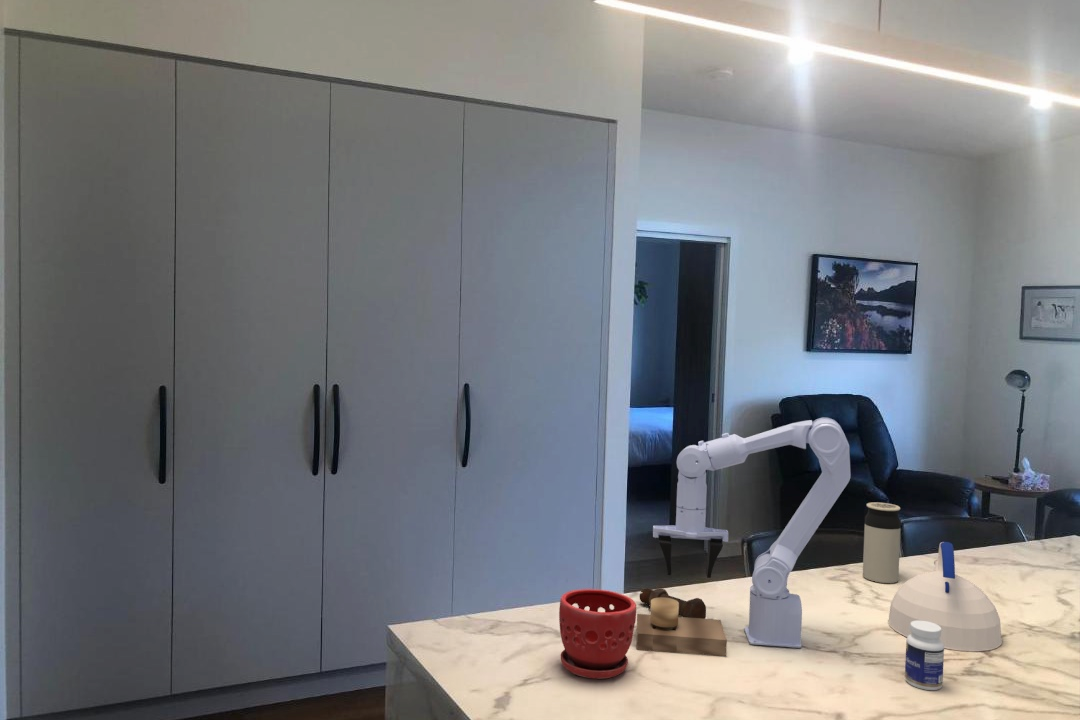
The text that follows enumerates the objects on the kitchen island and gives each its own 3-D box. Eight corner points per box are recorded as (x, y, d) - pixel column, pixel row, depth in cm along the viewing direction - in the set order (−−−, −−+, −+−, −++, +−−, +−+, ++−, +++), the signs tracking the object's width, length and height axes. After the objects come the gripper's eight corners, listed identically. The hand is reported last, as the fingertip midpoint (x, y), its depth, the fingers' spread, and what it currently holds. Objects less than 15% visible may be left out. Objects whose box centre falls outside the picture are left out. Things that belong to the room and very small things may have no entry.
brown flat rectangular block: (720, 635, 148) (720, 619, 148) (726, 656, 138) (726, 639, 138) (636, 629, 150) (637, 613, 150) (636, 649, 140) (637, 633, 140)
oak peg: (675, 636, 146) (676, 598, 146) (679, 647, 141) (680, 607, 141) (648, 635, 147) (649, 596, 146) (650, 646, 141) (652, 606, 141)
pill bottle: (897, 676, 131) (900, 619, 131) (929, 675, 132) (931, 618, 132) (917, 691, 126) (919, 632, 125) (950, 691, 126) (952, 631, 126)
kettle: (995, 623, 158) (999, 537, 158) (1008, 661, 139) (1013, 563, 139) (888, 607, 167) (891, 524, 166) (887, 640, 148) (890, 547, 147)
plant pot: (613, 692, 123) (615, 618, 122) (543, 671, 130) (545, 601, 129) (646, 664, 134) (648, 596, 133) (580, 646, 141) (582, 581, 140)
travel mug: (904, 584, 182) (907, 509, 181) (870, 583, 182) (873, 508, 182) (889, 574, 190) (892, 502, 189) (857, 573, 190) (860, 501, 190)
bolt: (645, 611, 165) (700, 631, 153) (631, 604, 162) (686, 623, 150) (655, 586, 167) (710, 603, 155) (641, 578, 164) (695, 595, 152)
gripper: (654, 509, 148) (652, 578, 148) (731, 513, 146) (728, 584, 146) (653, 501, 155) (651, 567, 155) (726, 505, 153) (724, 572, 153)
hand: (688, 575), depth 151 cm, fingers open, 7 cm apart
